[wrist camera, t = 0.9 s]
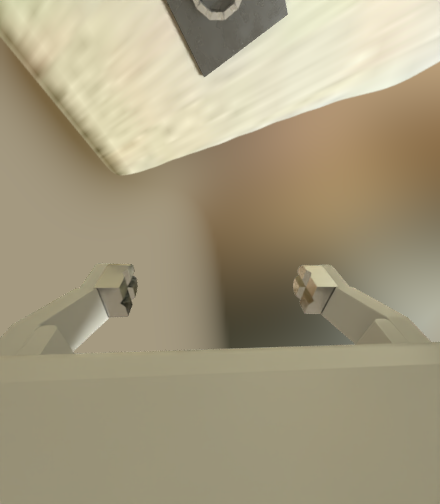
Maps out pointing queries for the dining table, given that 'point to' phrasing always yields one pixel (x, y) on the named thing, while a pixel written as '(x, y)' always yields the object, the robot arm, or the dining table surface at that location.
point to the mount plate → (223, 26)
